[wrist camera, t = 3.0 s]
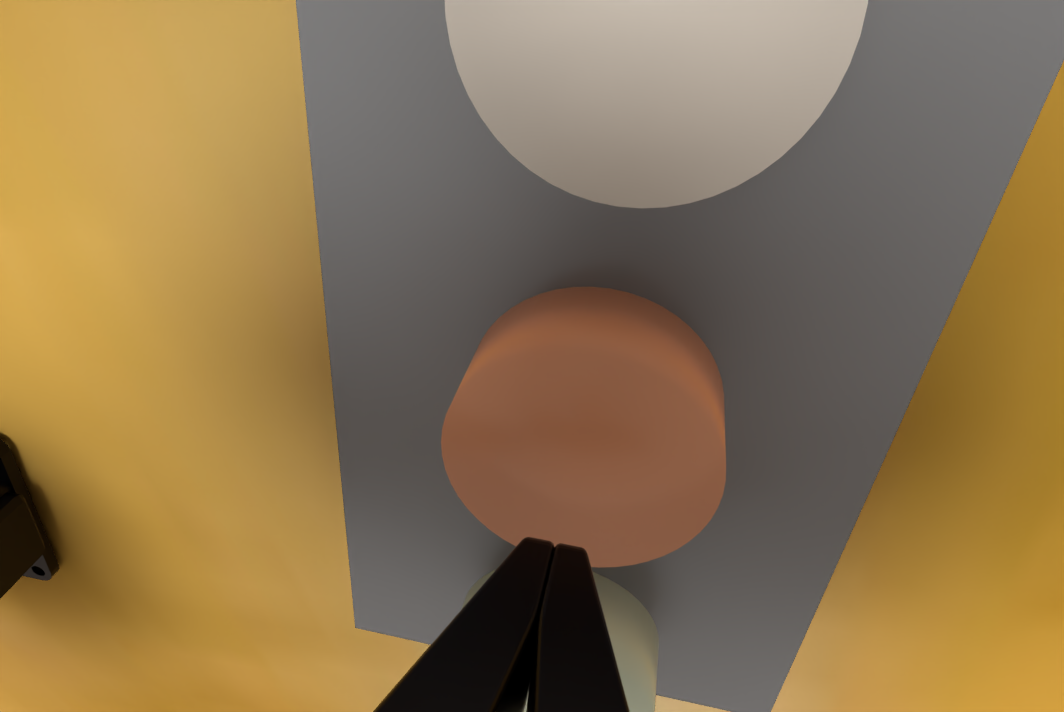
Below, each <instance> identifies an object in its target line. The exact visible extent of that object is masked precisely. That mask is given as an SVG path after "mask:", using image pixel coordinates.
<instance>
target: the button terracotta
mask: <svg viewBox="0 0 1064 712" xmlns="http://www.w3.org/2000/svg"><path fill="white" fill-rule="evenodd" d="M441 449H442V458H443V462H444V466H445V470H446V473H447V475H448V478H449V480H450V483H451V485H452V486H453V488H454V490H455V492H456V493H457V495H458V497H459V498H460V499H461V501H462V502H463V504H464V505H465V506H466V508H467V509H468V510H469V511H470V512H471V513H472V514H473V515H474V516H475V517H476V518H477V519H478V520H479V521H480V522H481V523H482V524H483V525H485V526H486V527H487V528H488V529H489V530H491V531H492V532H493V533H495V534H496V535H498V536H499V537H501V538H502V539H504V540H505V541H507V542H509V543H511V544H512V545H514V546H517V545H518V544H519V542H520V541H521V540H522V539H524V538H526V537H533V538H538V539H543V540H548V541H551V542H552V543H553V544H554V548H555V546H556V545H557V544H559V543H563V544H568V545H573V546H578V547H582V548H584V549H585V550H586V552H587V554H588V557H589V561H590V565H591V567H598V568H599V567H620V566H629V565H634V564H639V563H643V562H648V561H651V560H653V559H656V558H659V557H662V556H664V555H667V554H669V553H671V552H673V551H675V550H677V549H678V548H680V547H682V546H683V545H685V544H686V543H688V542H689V541H690V540H692V539H693V538H694V537H695V536H696V535H697V534H699V533H700V532H701V531H702V530H703V528H704V527H705V526H706V525H707V524H708V523H709V521H710V520H711V518H712V517H713V515H714V514H715V512H716V510H717V509H718V506H719V504H720V501H721V499H722V496H723V492H724V487H725V482H726V446H725V411H724V391H723V384H722V379H721V376H720V373H719V370H718V366H717V364H716V362H715V360H714V358H713V356H712V354H711V352H710V351H709V349H708V348H707V347H706V345H705V344H704V342H703V341H702V339H701V338H700V337H699V336H698V335H697V334H696V333H695V332H694V331H693V330H692V328H691V327H690V326H688V325H687V324H686V323H685V322H684V321H682V320H681V319H680V318H679V317H678V316H676V315H675V314H673V313H672V312H670V311H668V310H667V309H665V308H664V307H662V306H660V305H658V304H656V303H654V302H652V301H650V300H648V299H646V298H643V297H640V296H637V295H634V294H631V293H628V292H624V291H619V290H615V289H610V288H600V287H570V288H563V289H556V290H552V291H549V292H545V293H541V294H538V295H536V296H533V297H531V298H529V299H526V300H524V301H522V302H521V303H519V304H517V305H515V306H514V307H512V308H510V309H509V310H508V311H507V312H505V313H504V314H503V315H502V316H500V317H499V318H498V319H497V320H496V321H495V322H494V324H493V325H492V326H491V327H490V328H489V329H488V331H487V332H486V334H485V335H484V337H483V338H482V340H481V342H480V344H479V346H478V348H477V350H476V352H475V354H474V356H473V359H472V361H471V363H470V365H469V367H468V369H467V371H466V373H465V375H464V377H463V380H462V382H461V384H460V386H459V388H458V390H457V392H456V394H455V396H454V398H453V401H452V403H451V405H450V407H449V409H448V411H447V413H446V416H445V420H444V424H443V427H442V437H441Z"/></svg>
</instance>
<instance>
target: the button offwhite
mask: <svg viewBox="0 0 1064 712" xmlns="http://www.w3.org/2000/svg"><path fill="white" fill-rule="evenodd" d="M867 5H868V0H445V17H446V23H447V29H448V35H449V41H450V46H451V49H452V53H453V56H454V60H455V63H456V67H457V70H458V73H459V75H460V77H461V80H462V82H463V85H464V87H465V89H466V92H467V94H468V96H469V98H470V100H471V101H472V103H473V105H474V107H475V109H476V110H477V112H478V114H479V116H480V117H481V119H482V120H483V121H484V123H485V124H486V126H487V127H488V128H489V130H490V131H491V132H492V134H493V135H494V136H495V138H496V139H497V140H498V141H499V142H500V143H501V144H502V145H503V146H504V147H505V148H506V149H507V151H508V152H509V153H510V154H511V155H512V156H513V157H515V158H516V159H517V160H518V161H519V162H521V163H522V164H523V165H524V166H525V167H526V168H528V169H529V170H530V171H532V172H533V173H535V174H536V175H538V176H539V177H541V178H542V179H544V180H545V181H547V182H548V183H550V184H552V185H554V186H556V187H558V188H560V189H562V190H564V191H566V192H568V193H570V194H573V195H576V196H579V197H582V198H584V199H587V200H590V201H593V202H598V203H603V204H607V205H612V206H617V207H629V208H664V207H671V206H677V205H683V204H689V203H692V202H696V201H699V200H703V199H706V198H709V197H713V196H715V195H718V194H720V193H722V192H725V191H727V190H729V189H732V188H734V187H736V186H738V185H740V184H742V183H743V182H745V181H747V180H749V179H750V178H752V177H754V176H756V175H757V174H759V173H760V172H762V171H763V170H764V169H766V168H767V167H769V166H770V165H771V164H773V163H774V162H775V161H777V160H778V159H779V158H781V157H782V156H783V155H784V154H785V153H786V152H787V151H788V150H789V149H790V148H791V147H792V146H793V145H795V144H796V143H797V142H798V141H799V140H800V139H801V138H802V137H803V136H804V134H805V133H806V132H807V131H808V130H809V128H810V127H811V126H812V125H813V124H814V123H815V121H816V120H817V119H818V118H819V117H820V115H821V114H822V112H823V111H824V109H825V108H826V106H827V105H828V103H829V102H830V100H831V99H832V97H833V96H834V94H835V93H836V91H837V89H838V87H839V85H840V83H841V81H842V79H843V77H844V75H845V73H846V71H847V69H848V67H849V65H850V63H851V60H852V57H853V54H854V52H855V49H856V46H857V43H858V41H859V38H860V35H861V31H862V27H863V22H864V18H865V14H866V10H867Z"/></svg>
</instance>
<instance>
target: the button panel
mask: <svg viewBox="0 0 1064 712" xmlns="http://www.w3.org/2000/svg"><path fill="white" fill-rule="evenodd" d="M296 7H297V17H298V28H299V38H300V49H301V60H302V70H303V81H304V91H305V102H306V112H307V123H308V133H309V144H310V155H311V165H312V176H313V186H314V197H315V207H316V218H317V228H318V239H319V249H320V260H321V271H322V281H323V292H324V302H325V313H326V323H327V334H328V344H329V355H330V365H331V376H332V387H333V397H334V408H335V418H336V429H337V439H338V450H339V460H340V471H341V482H342V492H343V503H344V513H345V524H346V534H347V545H348V555H349V566H350V576H351V587H352V598H353V608H354V619H355V628H359V629H363V630H368V631H372V632H377V633H381V634H386V635H390V636H395V637H399V638H404V639H408V640H413V641H417V642H422V643H426V644H432V643H433V642H434V641H435V640H436V638H437V637H438V636H439V635H440V634H441V633H442V631H443V630H444V629H445V628H446V627H447V626H448V624H449V623H450V622H451V621H452V620H453V619H454V618H455V616H456V615H457V614H458V613H459V612H460V611H461V609H462V607H463V604H464V601H465V598H466V595H467V594H468V592H469V590H470V589H471V587H472V586H473V585H474V584H475V583H476V582H477V581H478V580H479V579H481V578H482V577H483V576H484V575H486V574H488V573H490V572H492V571H494V570H496V569H497V568H498V567H499V566H500V564H501V563H502V562H503V561H504V560H505V559H506V557H507V556H508V555H509V554H510V553H511V552H512V551H513V549H514V548H515V547H516V546H514V545H512V544H511V543H509V542H507V541H505V540H504V539H502V538H501V537H499V536H498V535H496V534H495V533H493V532H492V531H491V530H489V529H488V528H487V527H486V526H485V525H483V524H482V523H481V522H480V521H479V520H478V519H477V518H476V517H475V516H474V515H473V514H472V513H471V512H470V511H469V510H468V509H467V508H466V506H465V505H464V504H463V502H462V501H461V499H460V498H459V497H458V495H457V493H456V492H455V490H454V488H453V486H452V485H451V483H450V480H449V478H448V475H447V473H446V470H445V466H444V462H443V458H442V449H441V437H442V427H443V424H444V420H445V416H446V413H447V411H448V409H449V407H450V405H451V403H452V401H453V398H454V396H455V394H456V392H457V390H458V388H459V386H460V384H461V382H462V380H463V377H464V375H465V373H466V371H467V369H468V367H469V365H470V363H471V361H472V359H473V356H474V354H475V352H476V350H477V348H478V346H479V344H480V342H481V340H482V338H483V337H484V335H485V334H486V332H487V331H488V329H489V328H490V327H491V326H492V325H493V324H494V322H495V321H496V320H497V319H498V318H499V317H500V316H502V315H503V314H504V313H505V312H507V311H508V310H509V309H510V308H512V307H514V306H515V305H517V304H519V303H521V302H522V301H524V300H526V299H529V298H531V297H533V296H536V295H538V294H541V293H545V292H549V291H552V290H556V289H563V288H570V287H600V288H610V289H615V290H619V291H624V292H628V293H631V294H634V295H637V296H640V297H643V298H646V299H648V300H650V301H652V302H654V303H656V304H658V305H660V306H662V307H664V308H665V309H667V310H668V311H670V312H672V313H673V314H675V315H676V316H678V317H679V318H680V319H681V320H682V321H684V322H685V323H686V324H687V325H688V326H690V327H691V328H692V330H693V331H694V332H695V333H696V334H697V335H698V336H699V337H700V338H701V339H702V341H703V342H704V344H705V345H706V347H707V348H708V349H709V351H710V352H711V354H712V356H713V358H714V360H715V362H716V364H717V366H718V370H719V373H720V376H721V379H722V384H723V391H724V411H725V446H726V482H725V487H724V492H723V496H722V499H721V501H720V504H719V506H718V509H717V510H716V512H715V514H714V515H713V517H712V518H711V520H710V521H709V523H708V524H707V525H706V526H705V527H704V528H703V530H702V531H701V532H700V533H699V534H697V535H696V536H695V537H694V538H693V539H692V540H690V541H689V542H688V543H686V544H685V545H683V546H682V547H680V548H678V549H677V550H675V551H673V552H671V553H669V554H667V555H664V556H662V557H659V558H656V559H653V560H651V561H648V562H643V563H639V564H634V565H629V566H620V567H599V568H598V567H591V568H592V572H594V573H597V574H599V575H601V576H603V577H605V578H608V579H610V580H611V581H613V582H615V583H617V584H618V585H620V586H621V587H623V588H624V589H626V590H627V591H628V592H630V593H631V594H632V595H633V596H634V597H635V598H637V599H638V600H639V601H640V602H641V604H642V605H643V606H644V607H645V608H646V609H647V611H648V612H649V614H650V615H651V617H652V619H653V621H654V623H655V625H656V628H657V632H658V637H659V650H658V665H657V681H656V695H659V696H664V697H668V698H673V699H677V700H682V701H686V702H691V703H695V704H700V705H704V706H709V707H713V708H718V709H722V710H727V711H731V712H771V710H772V708H773V705H774V703H775V701H776V699H777V697H778V694H779V692H780V690H781V688H782V685H783V683H784V681H785V679H786V677H787V674H788V672H789V670H790V668H791V665H792V663H793V661H794V659H795V657H796V654H797V652H798V650H799V648H800V645H801V643H802V641H803V639H804V637H805V634H806V632H807V630H808V628H809V625H810V623H811V621H812V619H813V617H814V614H815V612H816V610H817V608H818V605H819V603H820V601H821V599H822V597H823V594H824V592H825V590H826V588H827V585H828V583H829V581H830V579H831V577H832V574H833V572H834V570H835V568H836V565H837V563H838V561H839V559H840V557H841V554H842V552H843V550H844V548H845V545H846V543H847V541H848V539H849V537H850V534H851V532H852V530H853V528H854V525H855V523H856V521H857V519H858V517H859V514H860V512H861V510H862V508H863V505H864V503H865V501H866V499H867V497H868V494H869V492H870V490H871V488H872V485H873V483H874V481H875V479H876V477H877V474H878V472H879V470H880V468H881V465H882V463H883V461H884V459H885V457H886V454H887V452H888V450H889V448H890V445H891V443H892V441H893V439H894V437H895V434H896V432H897V430H898V428H899V425H900V423H901V421H902V419H903V417H904V414H905V412H906V410H907V408H908V405H909V403H910V401H911V399H912V396H913V394H914V392H915V390H916V388H917V385H918V383H919V381H920V379H921V376H922V374H923V372H924V370H925V368H926V365H927V363H928V361H929V359H930V356H931V354H932V352H933V350H934V348H935V345H936V343H937V341H938V339H939V336H940V334H941V332H942V330H943V328H944V325H945V323H946V321H947V319H948V316H949V314H950V312H951V310H952V308H953V305H954V303H955V301H956V299H957V296H958V294H959V292H960V290H961V288H962V285H963V283H964V281H965V279H966V276H967V274H968V272H969V270H970V268H971V265H972V263H973V261H974V259H975V256H976V254H977V252H978V250H979V248H980V245H981V243H982V241H983V239H984V236H985V234H986V232H987V230H988V228H989V225H990V223H991V221H992V219H993V216H994V214H995V212H996V210H997V208H998V205H999V203H1000V201H1001V199H1002V196H1003V194H1004V192H1005V190H1006V188H1007V185H1008V183H1009V181H1010V179H1011V176H1012V174H1013V172H1014V170H1015V168H1016V165H1017V163H1018V161H1019V159H1020V156H1021V154H1022V152H1023V150H1024V148H1025V145H1026V143H1027V141H1028V139H1029V136H1030V134H1031V132H1032V130H1033V128H1034V125H1035V123H1036V121H1037V119H1038V116H1039V114H1040V112H1041V110H1042V108H1043V105H1044V103H1045V101H1046V99H1047V96H1048V94H1049V92H1050V90H1051V88H1052V85H1053V83H1054V81H1055V79H1056V76H1057V74H1058V72H1059V70H1060V67H1061V65H1062V63H1063V61H1064V0H868V5H867V10H866V14H865V18H864V22H863V27H862V31H861V35H860V38H859V41H858V43H857V46H856V49H855V52H854V54H853V57H852V60H851V63H850V65H849V67H848V69H847V71H846V73H845V75H844V77H843V79H842V81H841V83H840V85H839V87H838V89H837V91H836V93H835V94H834V96H833V97H832V99H831V100H830V102H829V103H828V105H827V106H826V108H825V109H824V111H823V112H822V114H821V115H820V117H819V118H818V119H817V120H816V121H815V123H814V124H813V125H812V126H811V127H810V128H809V130H808V131H807V132H806V133H805V134H804V136H803V137H802V138H801V139H800V140H799V141H798V142H797V143H796V144H795V145H793V146H792V147H791V148H790V149H789V150H788V151H787V152H786V153H785V154H784V155H783V156H782V157H781V158H779V159H778V160H777V161H775V162H774V163H773V164H771V165H770V166H769V167H767V168H766V169H764V170H763V171H762V172H760V173H759V174H757V175H756V176H754V177H752V178H750V179H749V180H747V181H745V182H743V183H742V184H740V185H738V186H736V187H734V188H732V189H729V190H727V191H725V192H722V193H720V194H718V195H715V196H713V197H709V198H706V199H703V200H699V201H696V202H692V203H689V204H683V205H677V206H671V207H664V208H629V207H617V206H612V205H607V204H603V203H598V202H593V201H590V200H587V199H584V198H582V197H579V196H576V195H573V194H570V193H568V192H566V191H564V190H562V189H560V188H558V187H556V186H554V185H552V184H550V183H548V182H547V181H545V180H544V179H542V178H541V177H539V176H538V175H536V174H535V173H533V172H532V171H530V170H529V169H528V168H526V167H525V166H524V165H523V164H522V163H521V162H519V161H518V160H517V159H516V158H515V157H513V156H512V155H511V154H510V153H509V152H508V151H507V149H506V148H505V147H504V146H503V145H502V144H501V143H500V142H499V141H498V140H497V139H496V138H495V136H494V135H493V134H492V132H491V131H490V130H489V128H488V127H487V126H486V124H485V123H484V121H483V120H482V119H481V117H480V116H479V114H478V112H477V110H476V109H475V107H474V105H473V103H472V101H471V100H470V98H469V96H468V94H467V92H466V89H465V87H464V85H463V82H462V80H461V77H460V75H459V73H458V70H457V67H456V63H455V60H454V56H453V53H452V49H451V46H450V41H449V35H448V29H447V23H446V17H445V0H296Z"/></svg>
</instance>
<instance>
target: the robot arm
mask: <svg viewBox="0 0 1064 712" xmlns="http://www.w3.org/2000/svg"><path fill="white" fill-rule="evenodd" d="M58 570H59V564H58V562H57V560H56V557H55V555H54V552H53V550H52V548H51V545H50V543H49V540H48V538H47V536H46V533H45V531H44V529H43V526H42V524H41V521H40V519H39V517H38V514H37V512H36V509H35V507H34V505H33V502H32V500H31V498H30V495H29V493H28V490H27V488H26V486H25V483H24V481H23V478H22V476H21V474H20V471H19V469H18V467H17V464H16V462H15V459H14V457H13V455H12V452H11V450H10V448H9V447H8V445H7V444H6V443H5V442H4V441H3V440H1V439H0V598H1V597H2V596H3V595H4V594H5V593H6V592H7V591H8V590H9V589H10V588H11V587H12V586H13V585H14V584H15V583H16V582H17V581H18V580H19V579H20V578H21V577H22V576H26V577H31V578H35V579H40V580H50V579H51V578H52V577H53V576H54V575H55V573H56V572H57V571H58ZM528 692H529V693H528ZM527 697H528V701H527ZM526 701H527V709H526V712H630V711H629V707H628V703H627V700H626V696H625V692H624V688H623V685H622V681H621V677H620V673H619V670H618V666H617V662H616V658H615V655H614V651H613V647H612V643H611V640H610V636H609V632H608V628H607V625H606V621H605V617H604V613H603V610H602V606H601V602H600V598H599V595H598V591H597V587H596V583H595V580H594V576H593V572H592V568H591V565H590V561H589V557H588V554H587V552H586V550H585V549H584V548H582V547H578V546H573V545H568V544H563V543H559V544H557V545H556V546H555V548H554V544H553V543H552V542H551V541H548V540H543V539H538V538H533V537H526V538H524V539H522V540H521V541H520V542H519V544H518V545H517V546H516V547H515V548H514V549H513V551H512V552H511V553H510V554H509V555H508V556H507V557H506V559H505V560H504V561H503V562H502V563H501V564H500V566H499V567H498V568H497V569H496V570H495V571H494V573H493V574H492V575H491V576H490V577H489V578H488V579H487V581H486V582H485V583H484V584H483V585H482V586H481V588H480V589H479V590H478V591H477V592H476V593H475V594H474V596H473V597H472V598H471V599H470V600H469V601H468V603H467V604H466V605H465V606H464V607H463V608H462V609H461V611H460V612H459V613H458V614H457V615H456V616H455V618H454V619H453V620H452V621H451V622H450V623H449V624H448V626H447V627H446V628H445V629H444V630H443V631H442V633H441V634H440V635H439V636H438V637H437V638H436V640H435V641H434V642H433V643H432V644H431V645H430V646H429V648H428V649H427V650H426V651H425V652H424V653H423V655H422V656H421V657H420V658H419V659H418V660H417V661H416V663H415V664H414V665H413V666H412V667H411V668H410V670H409V671H408V672H407V673H406V674H405V675H404V676H403V678H402V679H401V680H400V681H399V682H398V683H397V685H396V686H395V687H394V688H393V689H392V690H391V691H390V693H389V694H388V695H387V696H386V697H385V698H384V700H383V701H382V702H381V703H380V704H379V705H378V707H377V708H376V709H375V710H374V711H373V712H524V709H525V706H526Z"/></svg>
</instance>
